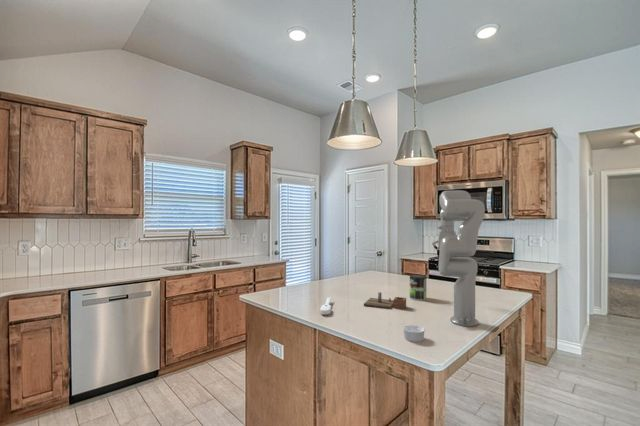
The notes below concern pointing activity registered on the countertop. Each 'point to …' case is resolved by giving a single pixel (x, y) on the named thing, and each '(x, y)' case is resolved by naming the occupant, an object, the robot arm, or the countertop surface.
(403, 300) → the square wooden collar
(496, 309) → the countertop surface
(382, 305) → the post board
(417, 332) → the ramekin
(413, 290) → the coffee can
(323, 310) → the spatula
